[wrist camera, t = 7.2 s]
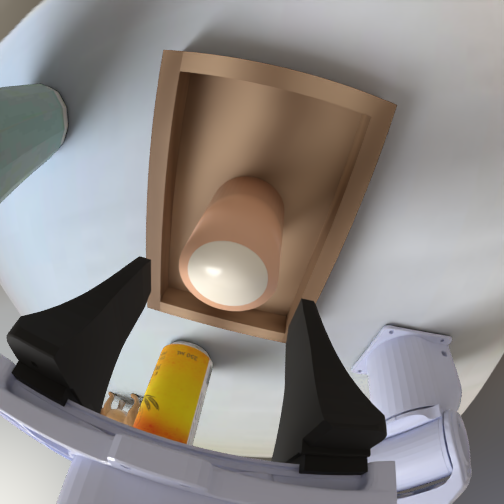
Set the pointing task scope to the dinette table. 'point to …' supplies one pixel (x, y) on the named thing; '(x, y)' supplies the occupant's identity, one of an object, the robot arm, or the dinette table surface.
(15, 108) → the disposable coffee cup
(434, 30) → the dinette table surface
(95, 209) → the dinette table surface
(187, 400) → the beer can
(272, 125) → the tray
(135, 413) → the lion figurine
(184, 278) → the tan and white cylinder
